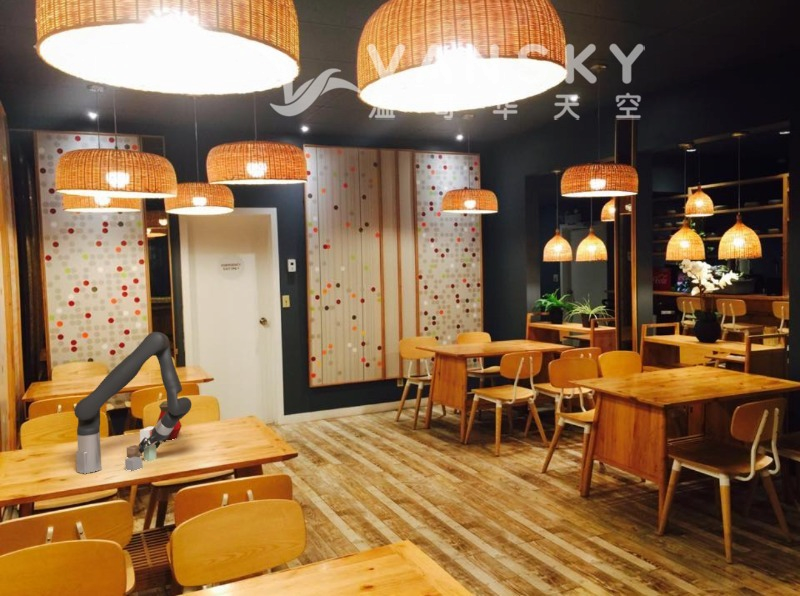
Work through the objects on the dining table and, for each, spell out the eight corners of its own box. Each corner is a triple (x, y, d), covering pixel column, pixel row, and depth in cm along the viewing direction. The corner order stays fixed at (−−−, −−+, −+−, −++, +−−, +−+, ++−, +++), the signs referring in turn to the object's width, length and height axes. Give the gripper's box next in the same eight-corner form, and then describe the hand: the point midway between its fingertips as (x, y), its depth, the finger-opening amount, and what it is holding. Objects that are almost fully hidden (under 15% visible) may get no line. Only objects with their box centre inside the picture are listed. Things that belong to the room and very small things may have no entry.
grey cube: (132, 471, 286) (132, 461, 286) (125, 470, 288) (125, 459, 288) (142, 468, 290) (141, 457, 290) (135, 467, 293) (134, 456, 293)
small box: (150, 451, 318) (149, 430, 317) (140, 450, 319) (139, 430, 318) (159, 446, 326) (158, 426, 325) (149, 446, 327) (148, 425, 326)
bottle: (162, 434, 348) (160, 398, 347) (186, 434, 348) (185, 398, 346) (149, 442, 332) (148, 405, 331) (175, 442, 332) (173, 404, 331)
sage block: (149, 461, 300) (148, 447, 300) (143, 460, 302) (143, 446, 302) (156, 459, 304) (155, 444, 304) (150, 458, 306) (150, 443, 305)
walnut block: (133, 459, 305) (133, 448, 305) (126, 457, 308) (126, 447, 307) (142, 456, 310) (142, 446, 309) (135, 454, 312) (135, 444, 312)
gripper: (171, 418, 305) (156, 439, 311) (146, 425, 292) (131, 447, 298) (179, 430, 302) (163, 451, 309) (155, 438, 290) (139, 459, 296)
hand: (147, 449), depth 304 cm, fingers open, 8 cm apart
